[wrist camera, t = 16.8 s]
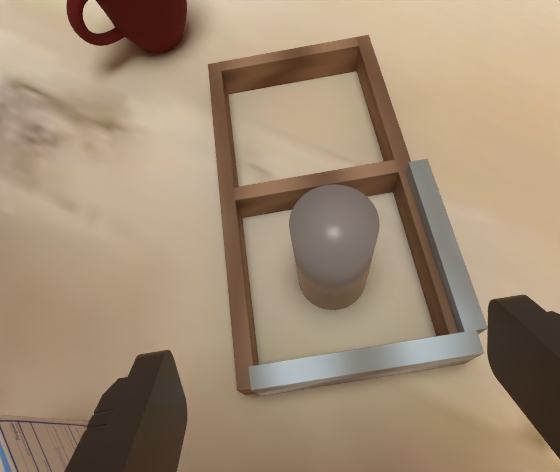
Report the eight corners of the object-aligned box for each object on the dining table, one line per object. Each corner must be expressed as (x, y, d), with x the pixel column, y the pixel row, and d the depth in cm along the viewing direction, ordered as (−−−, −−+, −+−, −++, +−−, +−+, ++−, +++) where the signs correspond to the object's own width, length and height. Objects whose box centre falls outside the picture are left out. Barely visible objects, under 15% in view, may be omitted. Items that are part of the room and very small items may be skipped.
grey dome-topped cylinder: (304, 315, 27) (297, 271, 20) (293, 252, 29) (283, 192, 22) (372, 303, 27) (389, 255, 20) (357, 241, 29) (367, 177, 22)
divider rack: (245, 398, 25) (234, 392, 22) (215, 87, 36) (204, 54, 33) (474, 361, 25) (495, 351, 22) (374, 58, 36) (378, 22, 33)
